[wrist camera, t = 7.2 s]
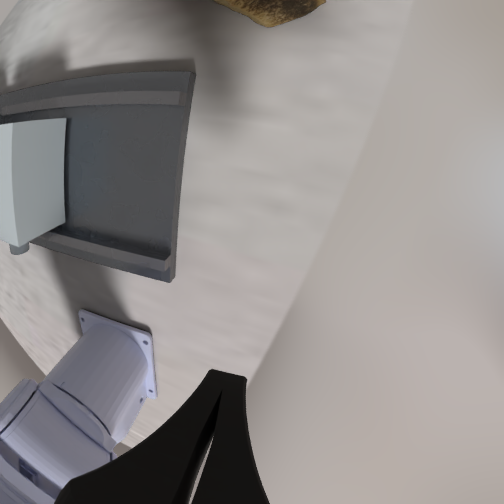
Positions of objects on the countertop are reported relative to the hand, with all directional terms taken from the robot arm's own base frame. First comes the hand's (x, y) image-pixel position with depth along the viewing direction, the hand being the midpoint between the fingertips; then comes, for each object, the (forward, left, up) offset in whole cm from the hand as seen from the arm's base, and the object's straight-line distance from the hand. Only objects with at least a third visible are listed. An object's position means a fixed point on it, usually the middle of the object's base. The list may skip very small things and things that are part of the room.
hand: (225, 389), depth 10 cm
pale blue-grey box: (+4, +20, -9) cm, 22 cm away
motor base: (+5, +18, -10) cm, 22 cm away
